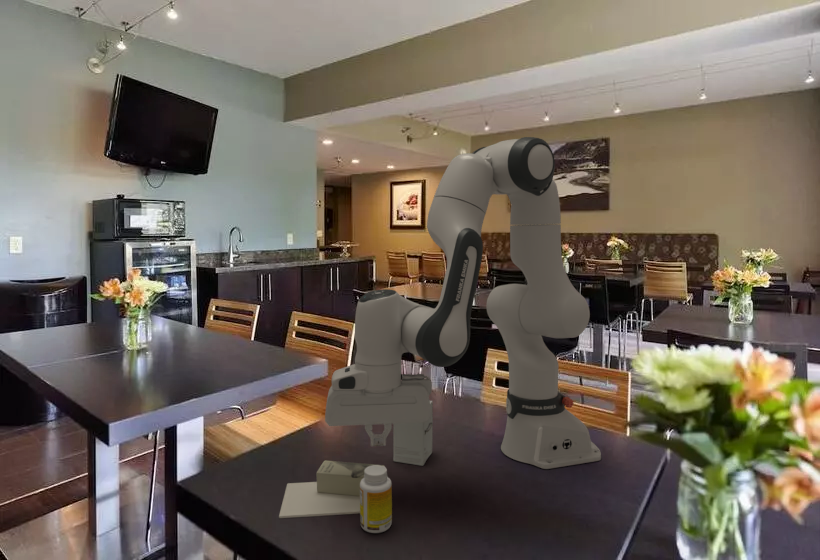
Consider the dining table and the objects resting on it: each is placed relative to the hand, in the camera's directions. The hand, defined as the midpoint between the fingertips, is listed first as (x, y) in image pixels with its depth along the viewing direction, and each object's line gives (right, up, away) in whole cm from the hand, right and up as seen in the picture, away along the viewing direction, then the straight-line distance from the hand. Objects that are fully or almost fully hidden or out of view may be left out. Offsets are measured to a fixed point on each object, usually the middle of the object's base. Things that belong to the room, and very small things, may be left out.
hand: (378, 444), depth 99 cm
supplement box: (+7, -9, +18) cm, 21 cm away
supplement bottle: (0, -12, -9) cm, 15 cm away
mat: (-9, -10, 0) cm, 14 cm away
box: (+1, -8, +1) cm, 8 cm away
